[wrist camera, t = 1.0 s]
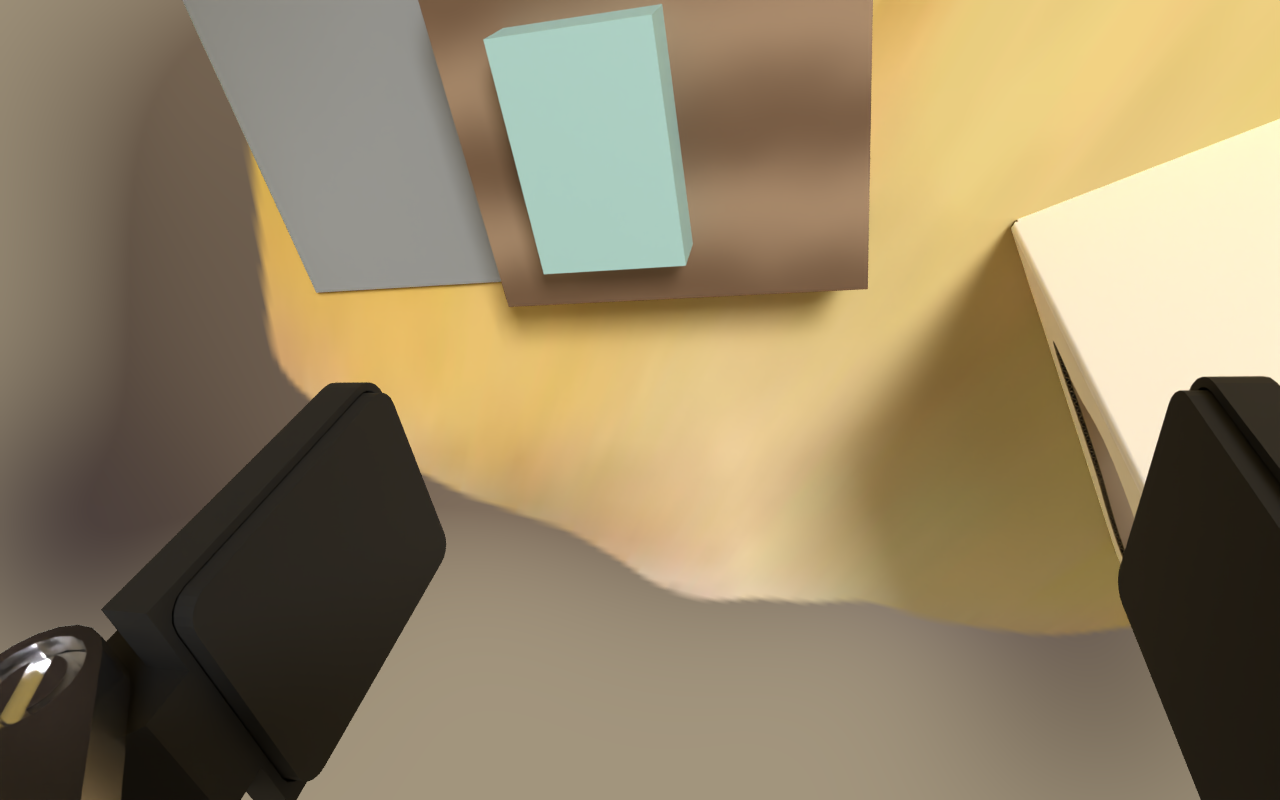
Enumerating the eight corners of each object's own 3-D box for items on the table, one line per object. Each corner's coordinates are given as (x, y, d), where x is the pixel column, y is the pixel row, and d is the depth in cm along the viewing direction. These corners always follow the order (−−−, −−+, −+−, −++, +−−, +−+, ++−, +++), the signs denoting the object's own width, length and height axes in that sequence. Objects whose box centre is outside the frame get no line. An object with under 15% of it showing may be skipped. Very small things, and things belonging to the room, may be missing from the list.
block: (502, 28, 27) (483, 39, 26) (661, 3, 26) (651, 14, 24) (557, 253, 32) (543, 274, 31) (692, 244, 31) (685, 265, 29)
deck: (451, -50, 30) (407, -37, 27) (868, -127, 26) (875, -122, 22) (534, 267, 38) (508, 306, 34) (863, 247, 34) (867, 289, 30)
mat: (181, -14, 33) (176, -13, 32) (424, -60, 30) (421, -59, 29) (319, 289, 41) (316, 292, 41) (519, 278, 38) (517, 280, 38)
